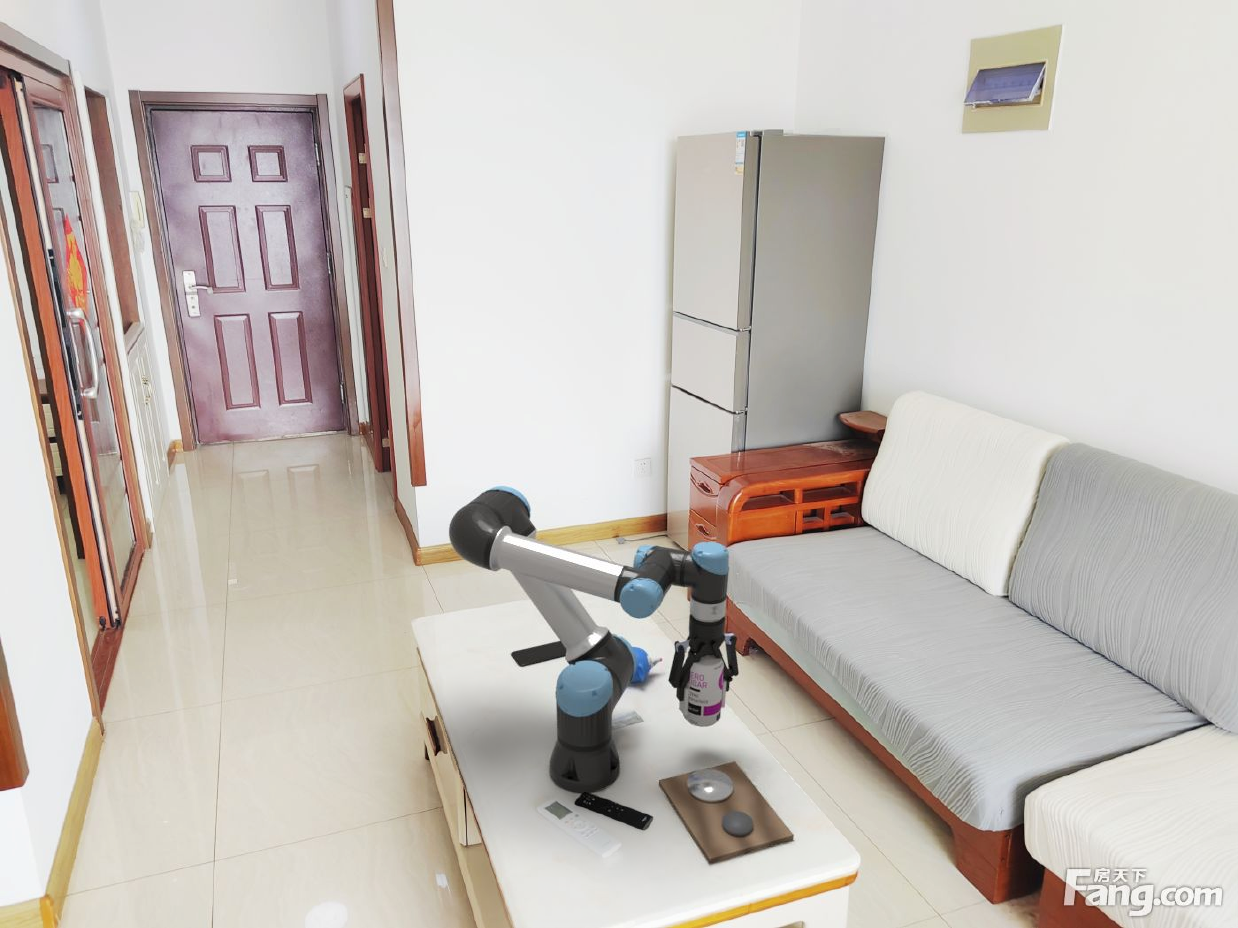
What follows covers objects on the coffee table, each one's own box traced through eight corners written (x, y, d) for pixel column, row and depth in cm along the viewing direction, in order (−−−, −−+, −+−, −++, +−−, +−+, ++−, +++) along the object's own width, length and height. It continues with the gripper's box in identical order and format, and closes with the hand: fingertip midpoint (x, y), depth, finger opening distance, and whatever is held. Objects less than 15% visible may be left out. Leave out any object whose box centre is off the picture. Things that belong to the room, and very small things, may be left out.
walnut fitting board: (709, 863, 164) (709, 858, 164) (658, 784, 185) (658, 779, 185) (793, 839, 170) (793, 834, 170) (734, 765, 192) (735, 761, 191)
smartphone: (564, 641, 243) (509, 654, 236) (564, 638, 243) (509, 651, 236) (576, 655, 236) (520, 668, 229) (576, 652, 236) (520, 665, 229)
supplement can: (720, 707, 196) (723, 648, 191) (720, 729, 188) (724, 668, 183) (683, 704, 197) (686, 645, 192) (682, 726, 189) (685, 665, 184)
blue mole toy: (670, 686, 221) (671, 656, 219) (625, 693, 218) (625, 664, 215) (654, 662, 232) (654, 633, 230) (610, 669, 229) (611, 640, 226)
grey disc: (730, 839, 168) (731, 835, 168) (716, 819, 174) (716, 815, 174) (758, 832, 171) (758, 827, 170) (743, 812, 176) (743, 807, 176)
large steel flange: (699, 807, 177) (699, 803, 177) (679, 778, 185) (679, 774, 185) (741, 796, 180) (741, 792, 180) (720, 768, 189) (720, 764, 188)
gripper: (668, 631, 178) (664, 727, 185) (760, 615, 185) (753, 708, 192) (654, 614, 184) (650, 707, 191) (743, 599, 191) (736, 690, 199)
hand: (702, 707), depth 192 cm, fingers closed on supplement can, 8 cm apart
